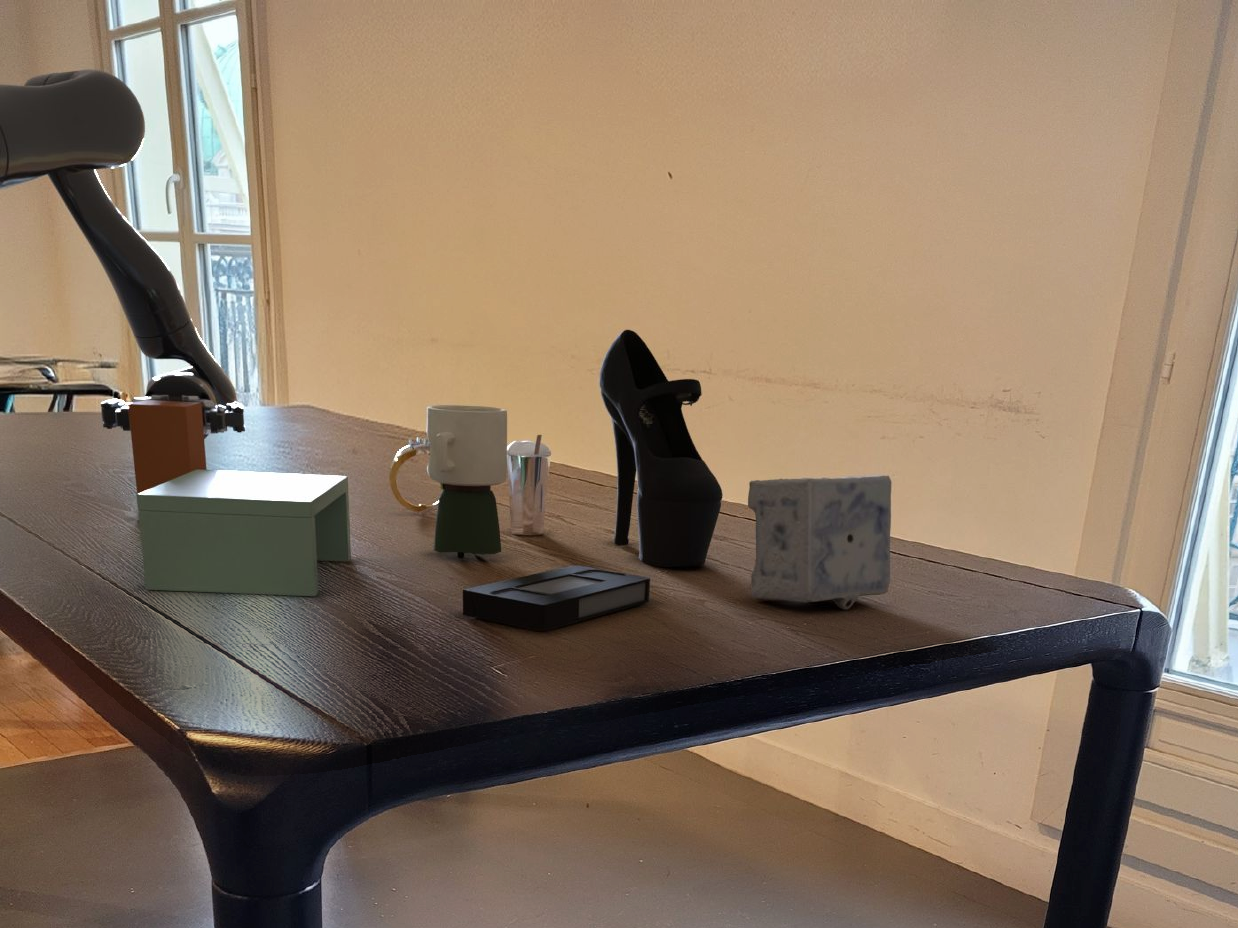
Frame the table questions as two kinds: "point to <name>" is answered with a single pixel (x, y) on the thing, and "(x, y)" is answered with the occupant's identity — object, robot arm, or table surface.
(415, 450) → the ring
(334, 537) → the shoe shelf
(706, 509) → the high-heeled shoe
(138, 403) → the ankle boot
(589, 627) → the table surface
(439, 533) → the character mug
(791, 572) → the incense holder
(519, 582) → the vhs tape
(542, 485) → the milkshake
